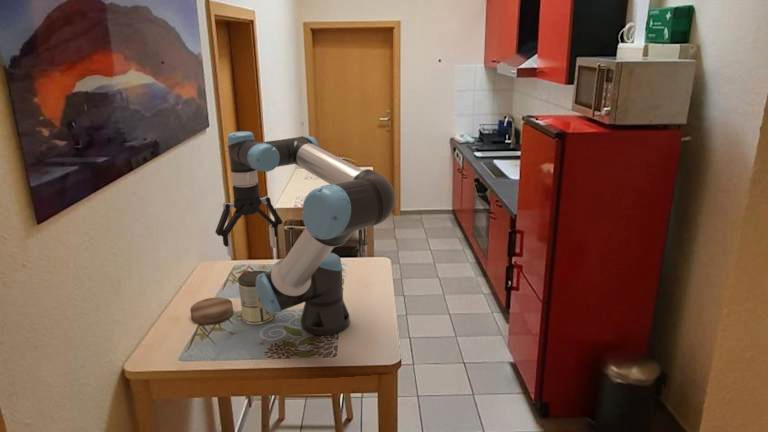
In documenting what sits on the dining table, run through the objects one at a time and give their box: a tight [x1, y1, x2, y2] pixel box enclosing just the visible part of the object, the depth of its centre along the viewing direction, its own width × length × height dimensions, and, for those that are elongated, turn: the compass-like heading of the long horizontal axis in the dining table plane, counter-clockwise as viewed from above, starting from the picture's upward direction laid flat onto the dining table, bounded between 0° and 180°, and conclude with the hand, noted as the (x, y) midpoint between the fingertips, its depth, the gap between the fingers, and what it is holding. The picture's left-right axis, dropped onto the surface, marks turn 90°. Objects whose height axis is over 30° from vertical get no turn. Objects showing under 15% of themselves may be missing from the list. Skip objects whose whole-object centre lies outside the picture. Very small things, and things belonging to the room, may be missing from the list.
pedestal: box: [189, 296, 234, 325], centre depth 172 cm, size 13×13×3 cm
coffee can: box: [237, 270, 276, 325], centre depth 169 cm, size 10×10×14 cm
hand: (252, 251), depth 164 cm, fingers open, 13 cm apart
